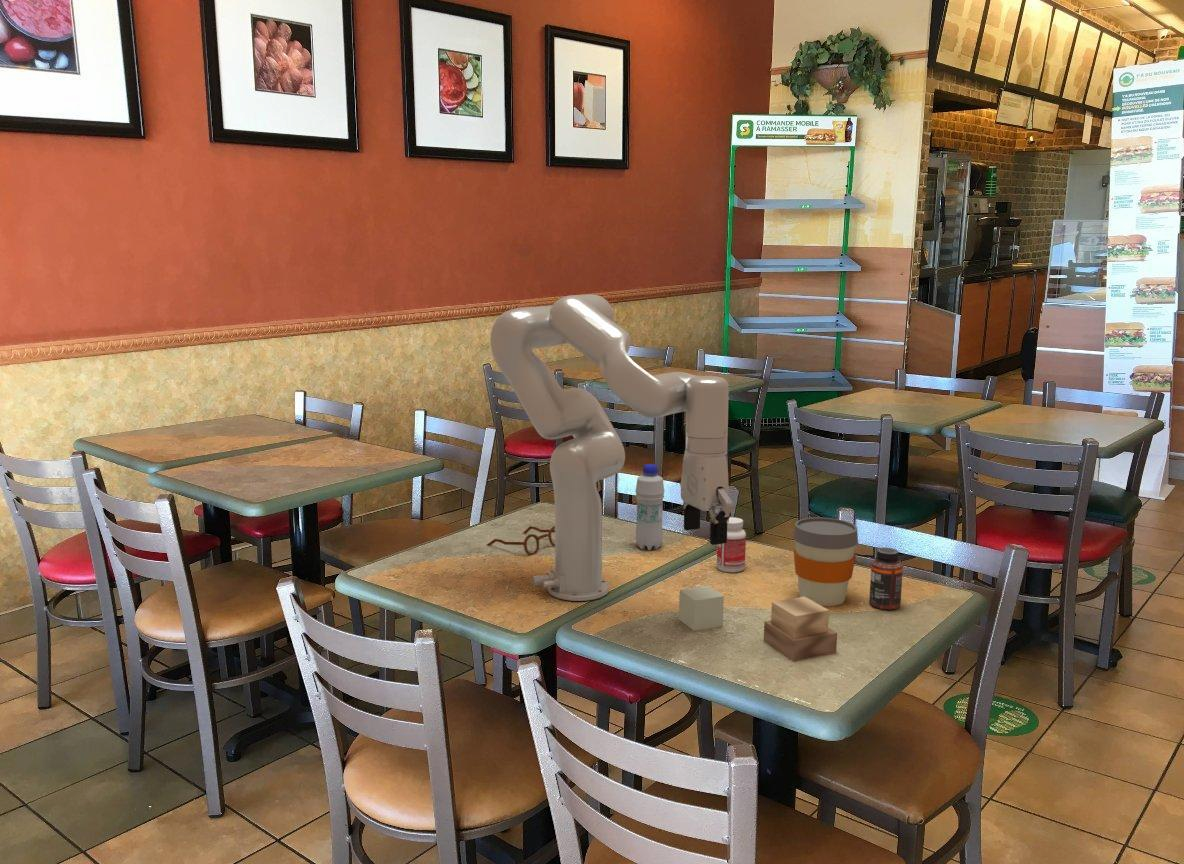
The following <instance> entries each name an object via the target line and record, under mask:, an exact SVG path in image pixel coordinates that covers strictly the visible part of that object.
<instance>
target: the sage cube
mask: <svg viewBox="0 0 1184 864" xmlns="http://www.w3.org/2000/svg"><path fill="white" fill-rule="evenodd" d="M678 596H679V597H678V600H679V601H678V620H679V621H681V623H683V624H684V625H686V627H688V628H689V629H691V630H692V631H693V632H697V631H703V630H707V629H708V630H710V629H714V628H722V627H723V626H724V625H723V624H724V602H725V600H724V599H725V598H724V597H725V596H724V595H723V594H721V593H720V592H718V591H716V590H715V589H714V588H712V587H711V586H709V585H708V584H707V585H701V586H694V587H689V588H682V589H679V595H678Z"/></svg>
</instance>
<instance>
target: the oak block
mask: <svg viewBox="0 0 1184 864" xmlns="http://www.w3.org/2000/svg"><path fill="white" fill-rule="evenodd" d="M829 617H830V610H829V609H828V608H826V607H825V606H821V605H819V604H817V603H815V602H814V601H812V600H810V599H808V598H806V597H805V596H804V597H795V598H794V597H793V598H789V599H784V600H776V601H771V616H770V621H771V624H773V625H774V626H776V627H777V628H779V629H781V630H782V631H784V632H785V633H787V634H788V635H790V636H792V637H793V638H799V637H804V636H809V635H814V634H820V633H825V632H828V628H829Z"/></svg>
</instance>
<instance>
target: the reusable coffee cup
mask: <svg viewBox="0 0 1184 864" xmlns="http://www.w3.org/2000/svg"><path fill="white" fill-rule="evenodd" d="M858 535H859V534H858V526H856V525H855V524H854V523H851V522H849V521H847V520H844V519H838V518H831V517H806V518H802V519H798V520H797V521H795V523H794V528H793V536H792V538H793V540H794V546H795V547H794V549H793V559H794V560H793V561H794V573H795V574H796V575H797V582H798V583H797V584H798V585H797V586H798V594H799V595H798V596H799V597H804V596H805V597H806V598H808V599H810V600H812V601H814V602H815V603H817V604H819V605H821V606H823V607H835V606H839V605H842V604H843V603H845V600H846V597H847V591H848V586H849V582H850V580H851V578H852V576H853V573H854V568H855V567H854V566H855V564H856V563H855V562H856V557H857V556H856V554H855V551H856V546H857V545H858V544H859V538H858V537H859V536H858ZM799 597H798V598H799Z"/></svg>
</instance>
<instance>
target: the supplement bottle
mask: <svg viewBox="0 0 1184 864" xmlns="http://www.w3.org/2000/svg"><path fill="white" fill-rule="evenodd" d="M903 568H904V565H903V563H902V561H900V560H899V550H898V549H896V548H892V547H879V548H877V551H876V558H874V559H873V560H872V561H871V564H870V582H869V583H870V584H869V597H868V598H869V599H868V600H869V604H870V605H871V606H872V607H874V608H877V609H880V610H887V611H888V610H895V609H899V608H900V606H901V602H902V589H903V588H902V587H903V586H902V585H903V570H904V569H903Z"/></svg>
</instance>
